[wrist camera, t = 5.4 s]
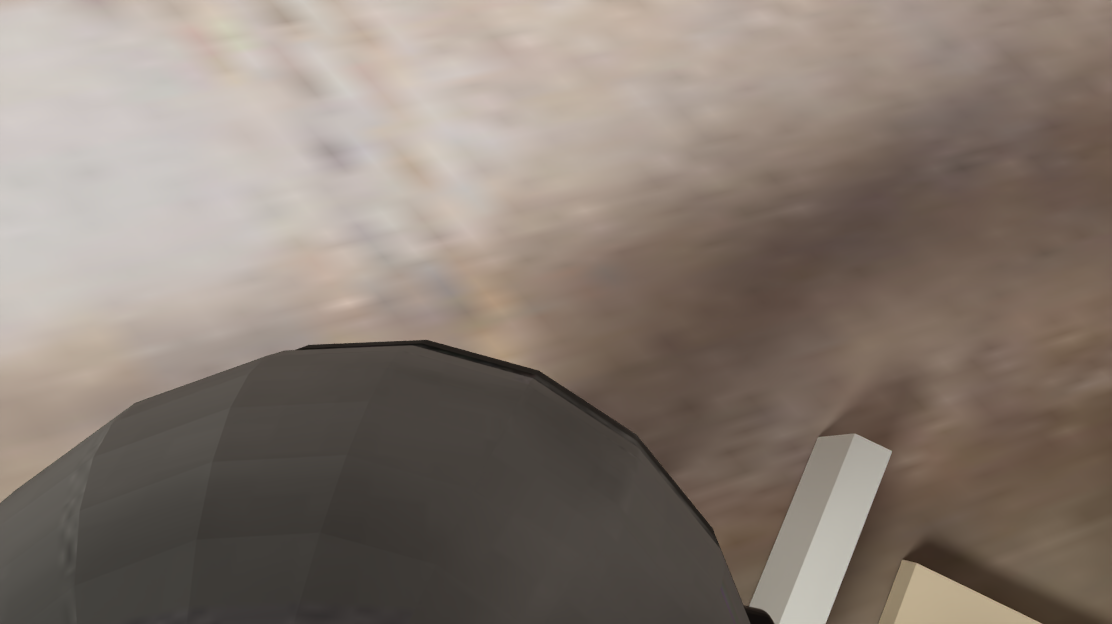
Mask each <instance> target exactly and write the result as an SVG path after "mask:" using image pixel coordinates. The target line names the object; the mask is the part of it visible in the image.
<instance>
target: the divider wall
mask: <svg viewBox="0 0 1112 624" xmlns="http://www.w3.org/2000/svg"><path fill="white" fill-rule="evenodd" d="M891 453H892V451H891V450H889V449H887V448H884V447H882V446H880V445H878V444H876V443H874V442H872V441H870V440H868V439H866V438H864V437H861V436H859V435H857V434H855V433H854V434H844V435H834V436H824V437H818V438H817V441H816V443H815V446H814V448H813V451H812V453H811V456H810V458H809V460H808V463H807V465H806V468H805V470H804V473H803V475H802V478H801V480H800V483H799V485H798V487H797V490H796V492H795V495H794V497H793V500H792V502H791V505H790V507H789V510H788V512H787V514H786V517H785V519H784V522H783V524H782V527H781V529H780V532H779V534H778V537H777V539H776V541H775V544H774V546H773V549H772V551H771V554H770V556H769V559H768V561H767V564H766V566H765V568H764V571H763V573H762V576H761V578H760V581H759V583H758V586H757V588H756V591H755V593H754V596H753V598H752V600H751V603H750V605H749V606H750V607H754V608H759V609H762V610H764V611H766V612H767V613H768V614H769V615H770V617H771V618H772V620H773V622H774V623H775V624H826V621H827V619H828V616H829V613H830V611H831V608H832V606H833V603H834V601H835V598H836V595H837V593H838V590H839V588H840V585H841V582H842V580H843V577H844V575H845V572H846V570H847V567H848V564H849V562H850V559H851V557H852V554H853V551H854V549H855V546H856V544H857V541H858V539H859V536H860V533H861V531H862V528H863V526H864V523H865V520H866V518H867V515H868V513H869V510H870V507H871V505H872V502H873V500H874V497H875V495H876V492H877V489H878V487H879V484H880V482H881V479H882V476H883V474H884V471H885V469H886V466H887V464H888V461H889V458H890V456H891Z"/></svg>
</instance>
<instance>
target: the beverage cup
mask: <svg viewBox="0 0 1112 624" xmlns="http://www.w3.org/2000/svg"><path fill="white" fill-rule="evenodd" d="M0 624H751V623H750V620H749V618H748V615H747V613H746V611H745V608H744V606H743V603H742V601H741V598H740V596H739V593H738V591H737V588H736V586H735V583H734V581H733V578H732V576H731V573H730V571H729V568H728V566H727V563H726V561H725V558H724V556H723V553H722V551H721V548H720V546H719V543H718V541H717V539H716V536H715V534H714V531H713V529H712V527H711V526H710V525H709V524H708V522H707V521H706V520H705V519H704V517H703V516H702V515H701V514H700V512H699V511H698V510H697V509H696V508H695V506H694V505H693V504H692V503H691V501H690V500H689V499H688V498H687V496H686V495H685V494H684V493H683V492H682V490H681V489H680V488H679V487H678V485H677V484H676V483H675V482H674V480H673V479H672V478H671V477H670V475H669V474H668V473H667V472H666V471H665V469H664V468H663V467H662V466H661V464H660V463H659V462H658V461H657V459H656V458H655V457H654V456H653V455H652V453H651V452H650V451H649V450H648V448H647V447H646V446H645V445H644V443H643V442H642V441H641V440H640V439H639V437H638V436H637V435H636V434H635V433H633V432H631V431H630V430H628V429H627V428H625V427H624V426H622V425H621V424H619V423H618V422H616V421H615V420H613V419H612V418H610V417H609V416H607V415H606V414H604V413H602V412H601V411H599V410H598V409H596V408H595V407H593V406H592V405H590V404H589V403H587V402H586V401H584V400H583V399H581V398H580V397H578V396H577V395H575V394H574V393H572V392H570V391H569V390H567V389H566V388H564V387H563V386H561V385H560V384H558V383H557V382H555V381H554V380H552V379H551V378H549V377H548V376H546V375H545V374H543V373H541V372H540V371H538V370H534V369H531V368H527V367H523V366H520V365H516V364H513V363H509V362H505V361H502V360H498V359H494V358H491V357H487V356H483V355H480V354H476V353H472V352H469V351H465V350H462V349H458V348H454V347H451V346H447V345H443V344H440V343H436V342H432V341H429V340H416V341H392V342H368V343H344V344H321V345H308V346H305V347H302V348H299V349H297V350H289V351H282V352H279V353H275V354H272V355H268V356H265V357H262V358H260V359H257V360H254V361H251V362H248V363H246V364H243V365H240V366H237V367H234V368H232V369H229V370H226V371H223V372H220V373H218V374H215V375H212V376H209V377H206V378H204V379H201V380H198V381H195V382H192V383H190V384H187V385H184V386H181V387H178V388H176V389H173V390H170V391H167V392H164V393H162V394H159V395H156V396H153V397H150V398H148V399H145V400H142V401H139V402H136V403H134V404H133V405H132V406H130V407H129V408H128V409H126V410H125V411H124V412H122V413H121V414H119V415H118V416H117V417H115V418H114V419H113V420H111V421H110V422H108V423H107V424H106V425H104V426H103V427H102V428H100V429H99V430H97V431H96V432H95V433H93V434H92V435H91V436H89V437H88V438H86V439H85V440H84V441H82V442H81V443H80V444H78V445H77V446H76V447H74V448H73V449H71V450H70V451H69V452H67V453H66V454H65V455H63V456H62V457H60V458H59V459H58V460H56V461H55V462H54V463H52V464H51V465H49V466H48V467H47V468H45V469H44V470H43V471H41V472H40V473H39V474H37V475H36V476H34V477H33V478H32V479H30V480H29V481H28V482H26V483H25V484H23V485H22V486H21V487H19V488H18V489H17V490H15V491H14V492H13V493H12V494H11V495H9V496H8V497H7V498H6V499H5V500H3V501H2V502H1V503H0Z"/></svg>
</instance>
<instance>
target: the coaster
mask: <svg viewBox="0 0 1112 624" xmlns="http://www.w3.org/2000/svg"><path fill="white" fill-rule="evenodd" d="M878 624H1042V623H1040V622H1038V621H1035V620H1033V619H1031V618H1029V617H1027V616H1025V615H1023V614H1021V613H1019V612H1017V611H1015V610H1013V609H1011V608H1009V607H1007V606H1004V605H1002V604H1000V603H998V602H996V601H994V600H992V599H990V598H988V597H986V596H984V595H982V594H980V593H978V592H976V591H973V590H971V589H969V588H967V587H965V586H963V585H961V584H959V583H957V582H955V581H953V580H951V579H949V578H947V577H945V576H943V575H940V574H938V573H936V572H934V571H932V570H930V569H928V568H926V567H924V566H922V565H920V564H918V563H915V562H910V561H906V560H902V562H901V565H900V567H899V570H898V573H897V575H896V578H895V581H894V583H893V586H892V589H891V591H890V594H889V597H888V599H887V602H886V605H885V607H884V610H883V613H882V615H881V618H880V621H879V623H878Z"/></svg>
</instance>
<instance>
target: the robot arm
mask: <svg viewBox="0 0 1112 624" xmlns="http://www.w3.org/2000/svg"><path fill="white" fill-rule="evenodd" d="M743 606H744V608H745V611H746V613H747V615H748V618H749V620H750V623H751V624H775V623H774V622H773V620H772V618H771V617H770V615H769V614H768V613H767V612H766V611H764V610H762V609H759V608H754V607H750V606H745V605H743Z"/></svg>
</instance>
